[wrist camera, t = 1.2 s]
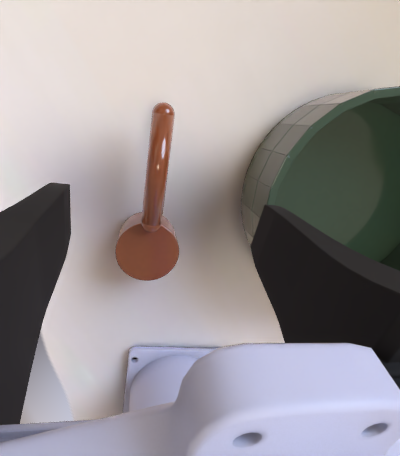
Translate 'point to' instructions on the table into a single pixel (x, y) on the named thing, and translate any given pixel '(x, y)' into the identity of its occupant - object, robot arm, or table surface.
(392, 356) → the robot arm
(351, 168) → the tin
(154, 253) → the brown toy plunger
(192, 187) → the table surface
